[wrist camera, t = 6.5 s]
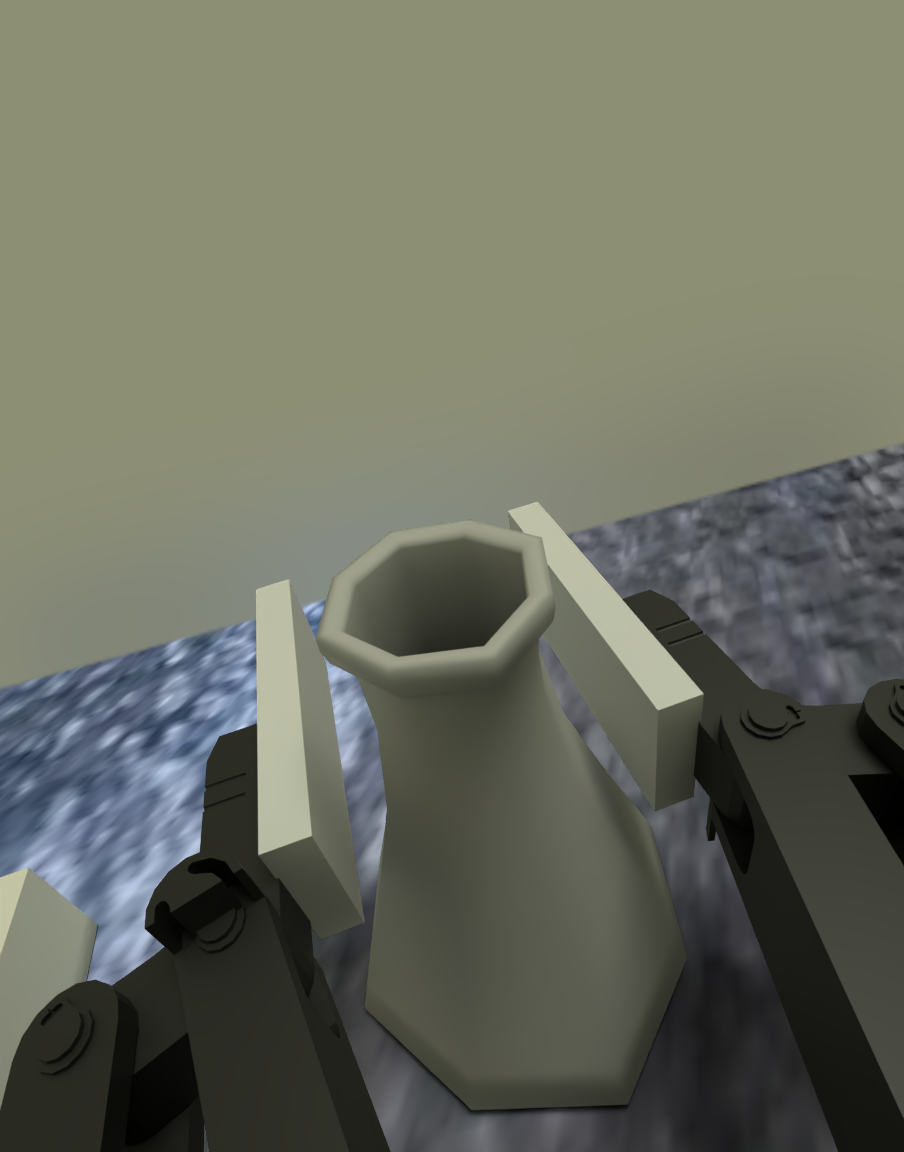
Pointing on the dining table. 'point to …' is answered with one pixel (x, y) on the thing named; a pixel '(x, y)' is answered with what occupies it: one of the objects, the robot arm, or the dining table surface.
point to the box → (36, 955)
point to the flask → (497, 833)
